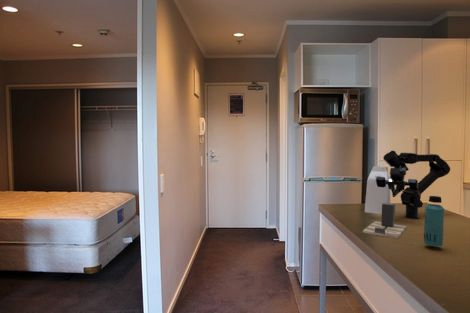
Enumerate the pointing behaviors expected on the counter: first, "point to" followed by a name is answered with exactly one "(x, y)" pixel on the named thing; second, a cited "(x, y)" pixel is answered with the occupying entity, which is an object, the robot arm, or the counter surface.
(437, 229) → the beverage bottle
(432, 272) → the counter surface
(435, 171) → the robot arm
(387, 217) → the fader cap
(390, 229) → the console panel
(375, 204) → the milk
